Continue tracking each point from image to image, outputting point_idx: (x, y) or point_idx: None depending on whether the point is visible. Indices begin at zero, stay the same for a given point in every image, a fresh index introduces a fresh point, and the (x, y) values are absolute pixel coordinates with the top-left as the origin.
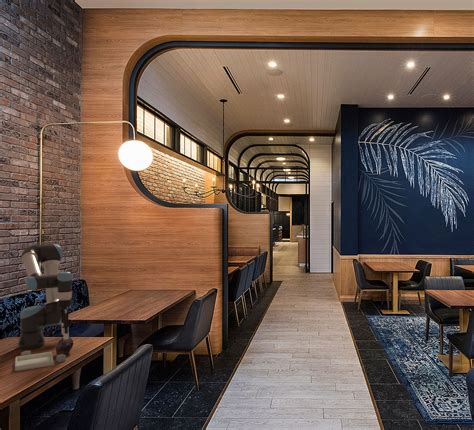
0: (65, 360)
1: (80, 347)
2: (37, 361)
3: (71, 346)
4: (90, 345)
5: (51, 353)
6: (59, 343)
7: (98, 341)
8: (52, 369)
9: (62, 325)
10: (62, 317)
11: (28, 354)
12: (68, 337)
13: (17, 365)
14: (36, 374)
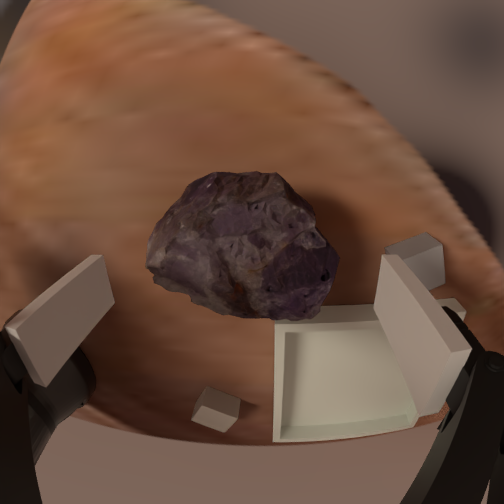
0: (426, 235)
1: (139, 111)
2: (358, 368)
3: (293, 190)
4: (124, 48)
5: (321, 324)
6: (279, 306)
7: (67, 19)
8: (493, 298)
9: (58, 357)
10: (32, 472)
11: (225, 403)
12: (402, 264)
13: (357, 420)
14: (493, 347)
